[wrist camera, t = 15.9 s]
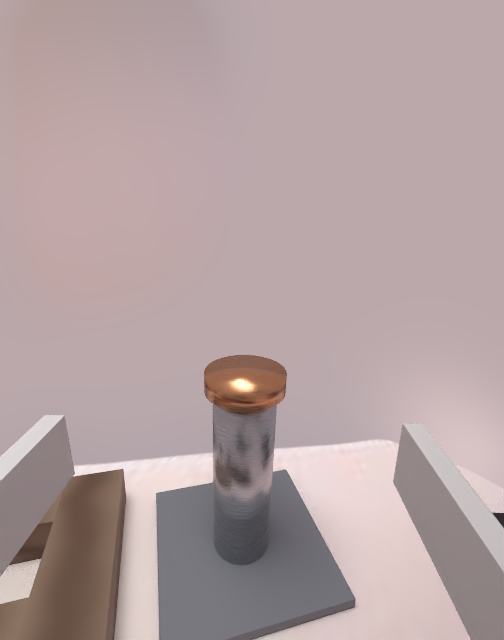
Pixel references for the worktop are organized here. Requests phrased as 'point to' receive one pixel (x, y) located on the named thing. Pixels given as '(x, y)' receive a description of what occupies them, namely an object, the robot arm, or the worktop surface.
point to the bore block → (73, 565)
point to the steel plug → (243, 451)
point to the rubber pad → (242, 570)
